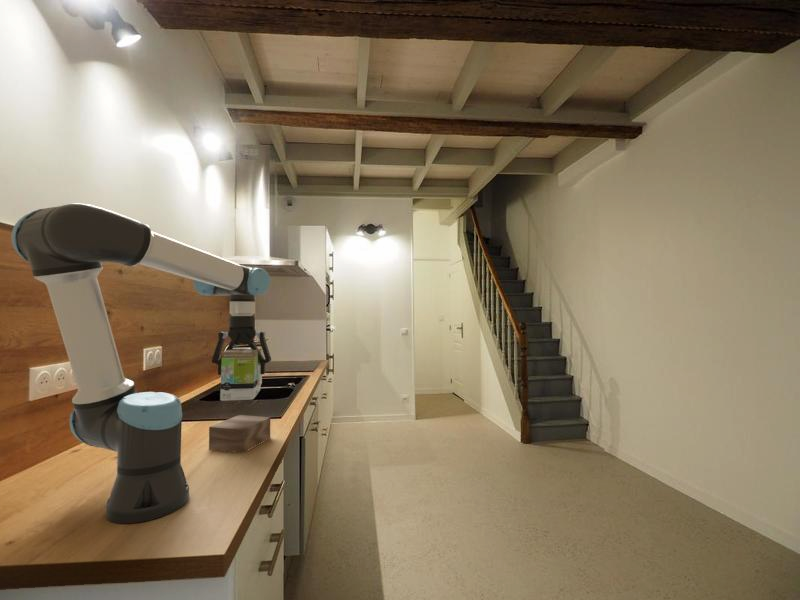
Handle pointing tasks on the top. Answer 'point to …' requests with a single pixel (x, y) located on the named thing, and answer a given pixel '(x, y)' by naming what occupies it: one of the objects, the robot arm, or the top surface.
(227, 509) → the top surface
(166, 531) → the top surface
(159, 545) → the top surface
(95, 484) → the top surface
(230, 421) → the walnut riser
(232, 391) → the tea box
